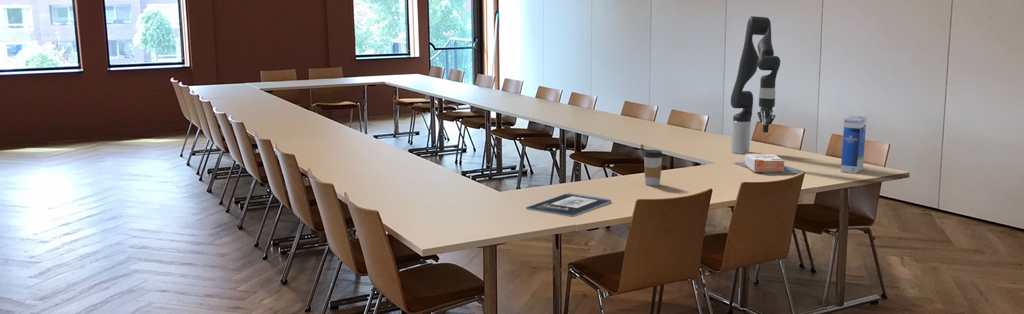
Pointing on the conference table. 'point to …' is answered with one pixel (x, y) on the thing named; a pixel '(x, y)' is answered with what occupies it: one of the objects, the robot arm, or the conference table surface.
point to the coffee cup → (652, 167)
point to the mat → (786, 171)
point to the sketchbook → (569, 204)
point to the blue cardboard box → (853, 144)
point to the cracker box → (764, 162)
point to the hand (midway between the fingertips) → (765, 132)
